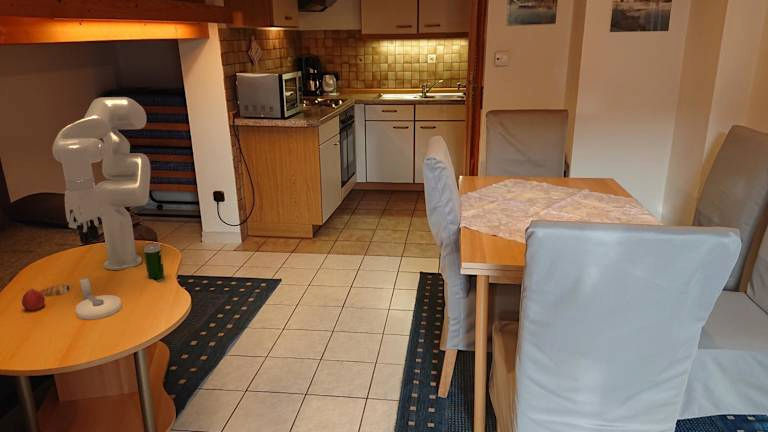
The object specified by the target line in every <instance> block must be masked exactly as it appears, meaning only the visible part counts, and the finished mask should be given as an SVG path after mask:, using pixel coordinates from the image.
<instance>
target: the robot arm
mask: <svg viewBox="0 0 768 432" xmlns="http://www.w3.org/2000/svg"><path fill="white" fill-rule="evenodd" d="M146 124H147V114H146V111H145V109H144V108H143V107H142V105H140V104H139V103H138V102H137V101H135V100H134V99H132V98H129V97H127V96H118V97H117V96H112V97H111V96H110V97H109V96H108V97H106V96H105V97H98V98H95V99H94V100H92V102H91V104H90V105H89V108H88V110H87V111H86V113H85V115H84V117H83V118H81V119H79V120H77V121H74V122H72V123H70V124H69V125H67V126H66V127H64V128H62V129H61V130H60V131H59V132H58V134H57V136H56V137H55V139H54V142H53V143H52V155H53V157H54V159H55V160H56V161H57V162H58V163H61V164H62V169H63V175H64V181H65V187H66V190H65V192H64V209H65V217H66V221H67V222H68V228H70V229H74V230H75V231H76V232H78V236H79V242H80V244H85V245H90V244H91V242H92V241H91V240H94V241H95V240H97V241H98V240H100V235H99V226H100V224H99V223H100V221H101V223H102V231H103V235H104V242H105V249H106V255H107V260H106V261H104V262H103V263H104V265H103V266H104V268H105V269H107V270H110V271H122V270H128V269H132V268H135V267H137V266H139V265H140V264H141V263H142V261H143V260H142V259H143V258H142V256H140V255H138V254H137V250H136V249H137V247H136V243H135V235H134V228H133V222H132V217H131V214H130V213H129V212H128V210H127V209H126V208H125V207H127V208H128V207H142V206H145V205H146V204H148V202H149V197H150V186H151V185H150V182H151V162H150V160H149V157H148V156H147V155H146V154H144V153H140V152H138V153H137V152H135V153H133V152H132V153H130V150H131V144H130V142H129V140H128V139H127V138H126V137H125V136H124V135H123V134H122V133H121V132H119V130H141V129H143V128H144V127H145V126H146ZM100 139H102V140H103V141H102V140H100ZM101 161H102V164H101V165H102V166H101V167H102V168H101V169H102V175H103V176H104V178H105V179H107V180H103V181H101V182H98V183H97V184H95V176H94V173H93V167H92V164H95V163H99V162H101ZM87 223H88V226H87Z"/></svg>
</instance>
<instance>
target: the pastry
mask: <svg viewBox="0 0 768 432" xmlns="http://www.w3.org/2000/svg"><path fill="white" fill-rule="evenodd" d="M70 288H71V285H70V284H69V283H67V282H66V283H63V284H60V283H58V284H57V283H56V284H54V285H50V286H48V287H45V288H43V289H40V290H38V291H39V292H40V293H42V294H43V296H44V297H57V296H63V295H64V296H65V295H67V294H68V293H69V291H68V290H69V289H70Z"/></svg>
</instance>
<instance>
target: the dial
mask: <svg viewBox="0 0 768 432" xmlns="http://www.w3.org/2000/svg"><path fill="white" fill-rule="evenodd" d="M79 281H80V288H81V292H82V294H81V295H82V298H83V300H82V301H80V302H79V303H78V304H77V305H76V306H75V312H76V317H78V318H79V319H81V320H88V321H89V320H91V321H92V320H99V319H104V318H107V317H111V316H112V315H114V314H116V313H118V312H119V311H120V310H121V308H122V301H121V298H120V297H119V296H117V295H112V294H105V295H104V294H101V295H96V296H94V295H93V294H92V288H91V282H90V278H82V279H80V280H79Z"/></svg>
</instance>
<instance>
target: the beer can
mask: <svg viewBox="0 0 768 432" xmlns="http://www.w3.org/2000/svg"><path fill="white" fill-rule="evenodd" d="M143 252H144V258H145V259H144V261H145V266H146V274H147V279H149V280H153V281H155V282H156V283H158V282H162V281H163V280H164V279H165V269H164V261H163V255H162V253H163V252H162V248H161V245H160V244H157V243H156V244H155V243H153V244H148V245H146V246H144V250H143Z"/></svg>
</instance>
